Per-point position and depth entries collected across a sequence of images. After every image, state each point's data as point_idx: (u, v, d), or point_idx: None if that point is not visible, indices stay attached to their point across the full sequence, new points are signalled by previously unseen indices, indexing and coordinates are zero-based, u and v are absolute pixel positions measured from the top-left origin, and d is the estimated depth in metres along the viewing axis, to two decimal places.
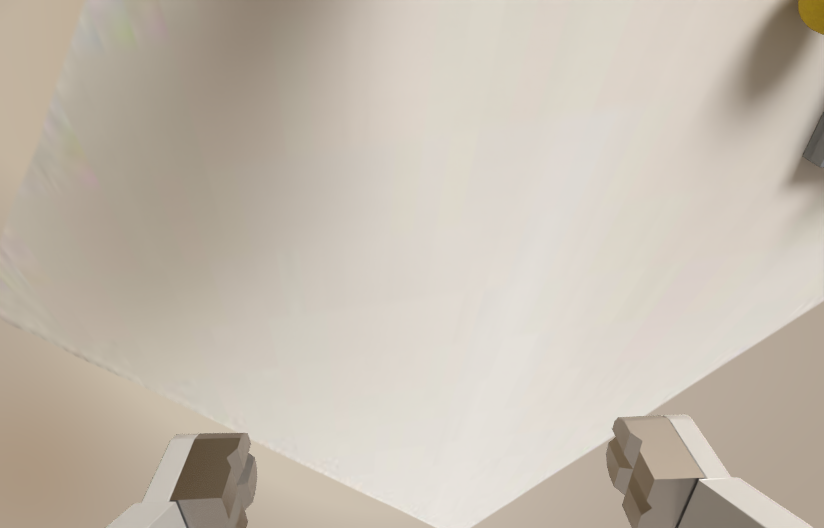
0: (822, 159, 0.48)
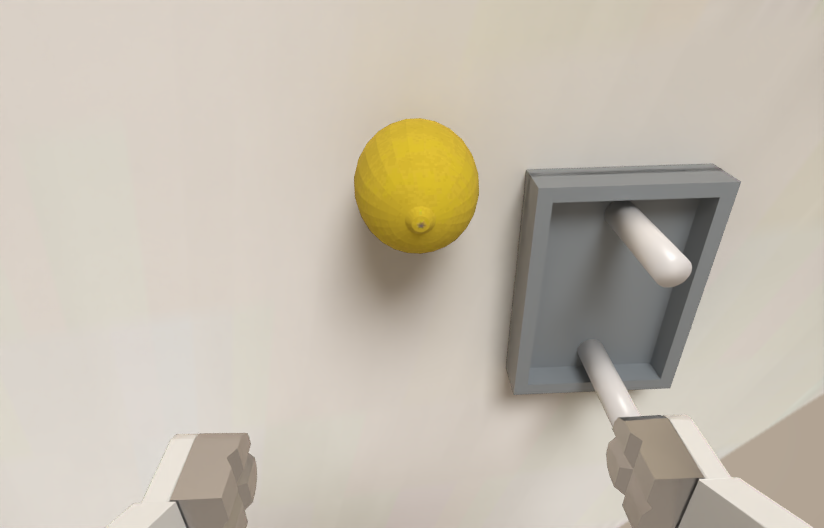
0: (514, 384, 0.32)
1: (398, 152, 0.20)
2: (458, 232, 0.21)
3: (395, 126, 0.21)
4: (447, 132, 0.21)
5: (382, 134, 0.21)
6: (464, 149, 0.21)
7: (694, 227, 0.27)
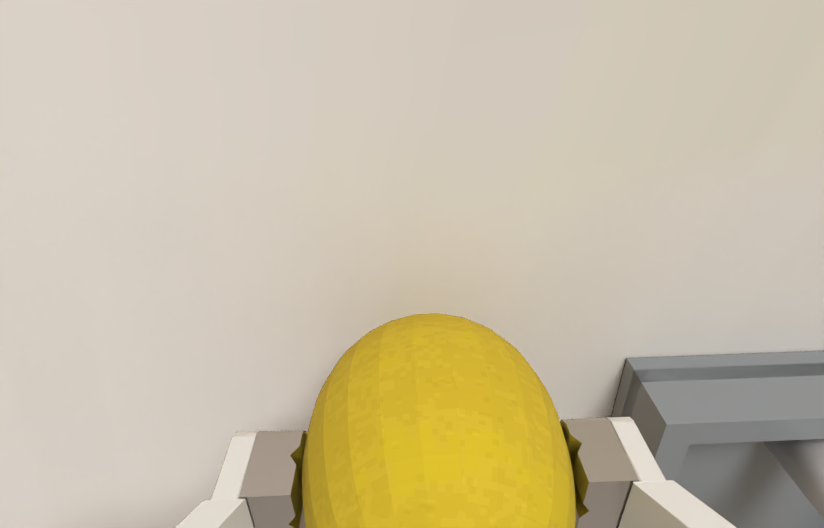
0: None
1: (397, 475, 0.08)
2: None
3: (391, 364, 0.10)
4: (507, 380, 0.09)
5: (362, 383, 0.09)
6: (547, 422, 0.09)
7: None
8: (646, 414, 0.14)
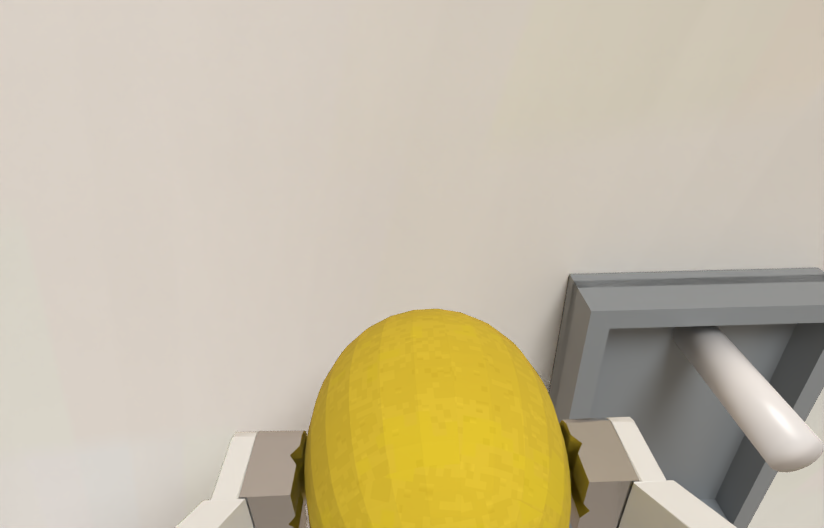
0: None
1: (396, 461, 0.08)
2: None
3: (391, 356, 0.10)
4: (504, 371, 0.10)
5: (363, 374, 0.10)
6: (542, 412, 0.10)
7: (790, 349, 0.21)
8: (580, 310, 0.19)
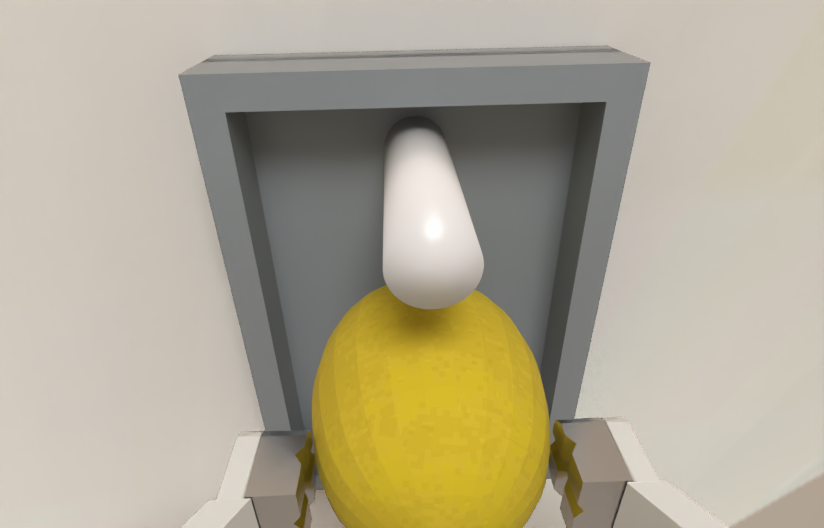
0: None
1: (402, 403, 0.09)
2: None
3: (394, 315, 0.11)
4: (496, 331, 0.11)
5: (369, 331, 0.11)
6: (528, 367, 0.11)
7: (573, 179, 0.13)
8: None
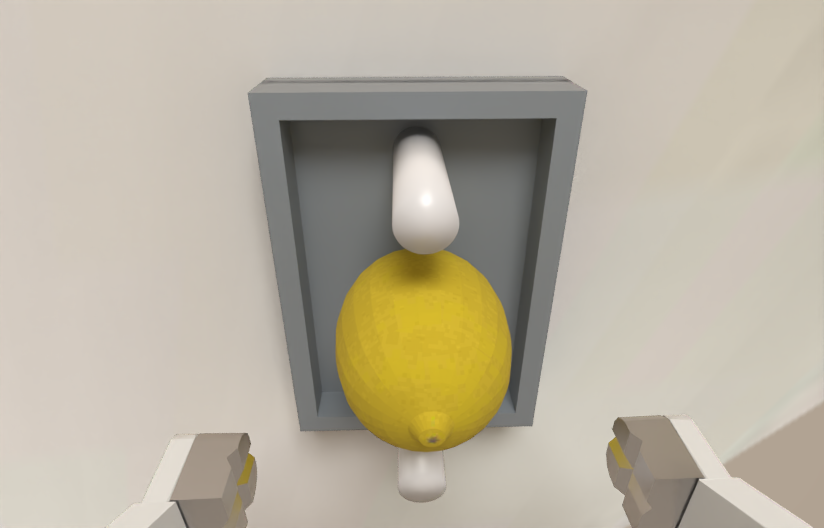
0: (298, 416, 0.21)
1: (402, 322, 0.13)
2: (482, 429, 0.14)
3: (398, 268, 0.15)
4: (472, 281, 0.15)
5: (379, 279, 0.15)
6: (495, 307, 0.15)
7: (537, 177, 0.18)
8: None
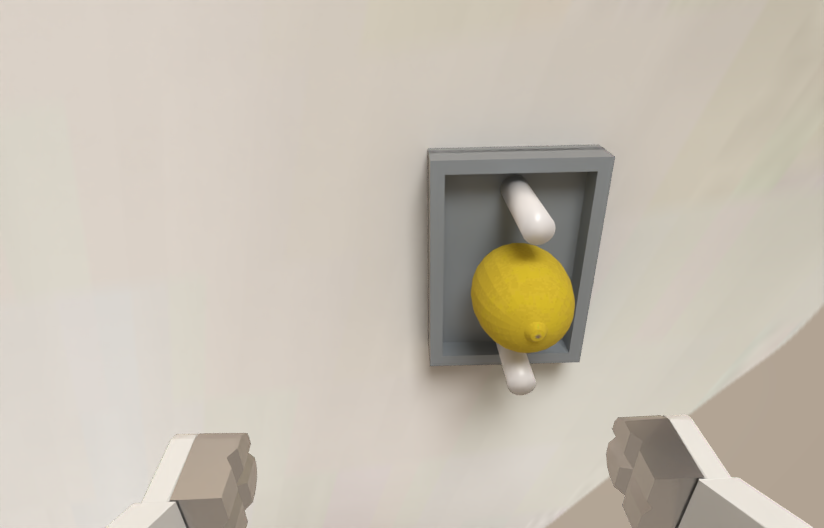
0: (430, 356, 0.33)
1: (519, 277, 0.25)
2: (560, 339, 0.26)
3: (510, 252, 0.27)
4: (551, 259, 0.27)
5: (500, 258, 0.27)
6: (565, 273, 0.27)
7: (584, 203, 0.30)
8: (429, 166, 0.28)
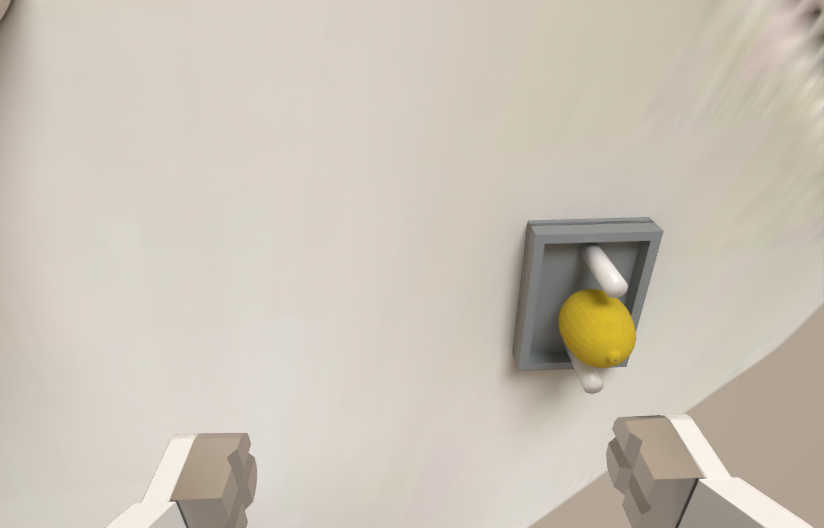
0: (518, 363, 0.46)
1: (601, 320, 0.38)
2: (626, 358, 0.39)
3: (591, 299, 0.39)
4: (619, 303, 0.39)
5: (584, 304, 0.39)
6: None
7: (637, 258, 0.42)
8: (532, 236, 0.40)
